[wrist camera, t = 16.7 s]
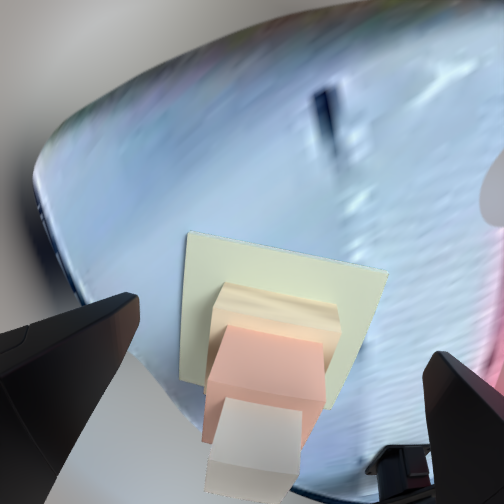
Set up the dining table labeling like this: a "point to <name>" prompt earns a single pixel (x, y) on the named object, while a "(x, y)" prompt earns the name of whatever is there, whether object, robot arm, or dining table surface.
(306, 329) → the block
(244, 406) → the cap block
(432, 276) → the dining table surface
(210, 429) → the coral block
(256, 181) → the dining table surface
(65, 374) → the robot arm
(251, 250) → the baseplate
